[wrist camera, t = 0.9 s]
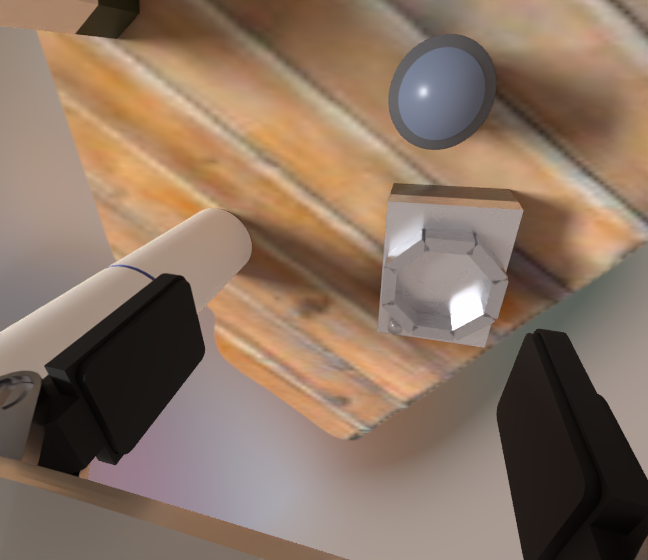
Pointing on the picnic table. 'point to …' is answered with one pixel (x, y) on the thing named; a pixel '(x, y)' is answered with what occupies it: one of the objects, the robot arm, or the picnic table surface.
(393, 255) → the octagonal metal flange
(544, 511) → the robot arm
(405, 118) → the flashlight
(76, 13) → the wine bottle
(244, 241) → the cylindrical container
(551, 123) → the picnic table surface
